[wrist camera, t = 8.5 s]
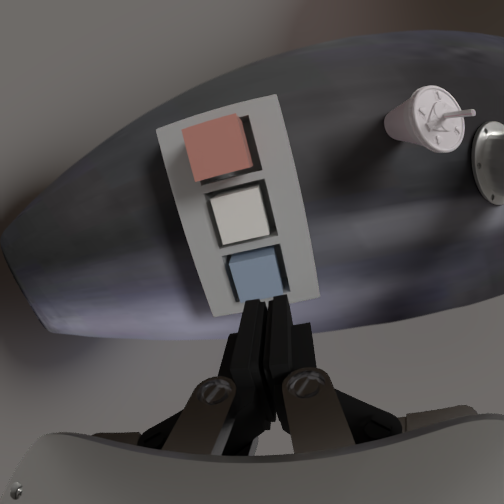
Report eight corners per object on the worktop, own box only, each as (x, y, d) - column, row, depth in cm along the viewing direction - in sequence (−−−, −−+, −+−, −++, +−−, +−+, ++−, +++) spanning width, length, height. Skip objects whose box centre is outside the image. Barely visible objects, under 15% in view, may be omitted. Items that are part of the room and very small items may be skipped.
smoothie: (426, 136, 26) (503, 135, 13) (392, 161, 28) (465, 170, 15) (400, 92, 25) (469, 66, 12) (363, 115, 26) (425, 92, 13)
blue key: (273, 240, 30) (273, 254, 26) (281, 276, 32) (283, 294, 28) (234, 248, 31) (228, 263, 27) (244, 284, 32) (240, 303, 28)
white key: (259, 182, 28) (257, 187, 24) (269, 223, 30) (269, 234, 26) (218, 193, 29) (210, 199, 25) (229, 232, 30) (223, 244, 26)
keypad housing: (275, 104, 27) (276, 94, 22) (313, 276, 33) (320, 297, 29) (173, 133, 29) (155, 129, 24) (220, 295, 35) (213, 317, 30)
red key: (241, 120, 23) (235, 113, 19) (253, 165, 25) (249, 167, 20) (195, 133, 24) (181, 129, 20) (207, 177, 25) (195, 182, 21)
